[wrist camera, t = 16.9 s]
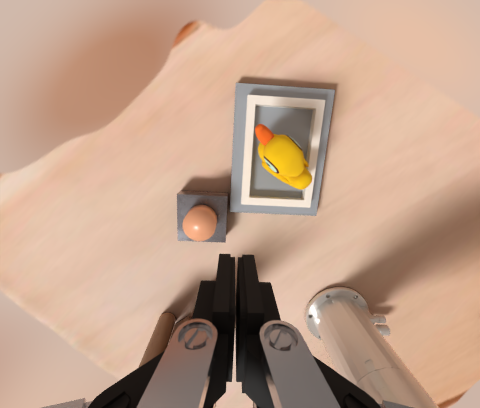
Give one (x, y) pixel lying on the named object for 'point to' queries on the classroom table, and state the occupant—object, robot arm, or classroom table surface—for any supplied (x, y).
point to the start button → (200, 223)
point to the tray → (279, 122)
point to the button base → (209, 199)
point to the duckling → (283, 158)
